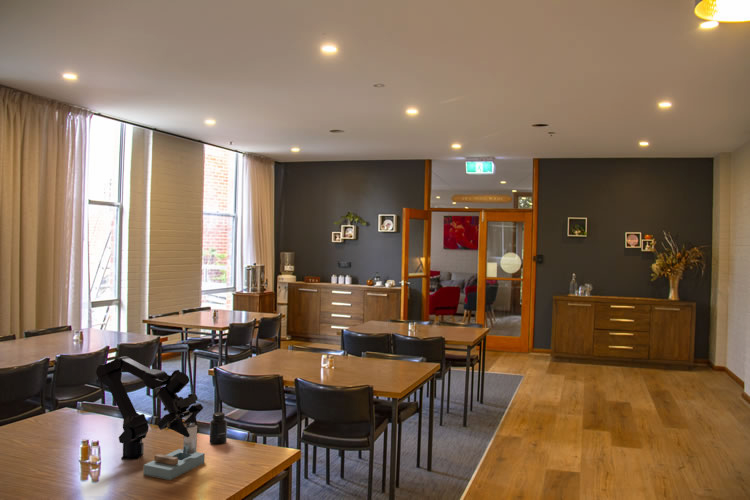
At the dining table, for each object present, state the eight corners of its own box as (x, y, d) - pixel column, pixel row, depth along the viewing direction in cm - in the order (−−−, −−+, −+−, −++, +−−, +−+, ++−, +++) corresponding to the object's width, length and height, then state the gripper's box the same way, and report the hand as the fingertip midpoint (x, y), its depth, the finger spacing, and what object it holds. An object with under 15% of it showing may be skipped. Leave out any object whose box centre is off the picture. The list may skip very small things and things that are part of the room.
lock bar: (154, 461, 203) (154, 455, 203) (158, 459, 205) (158, 453, 205) (174, 465, 200) (174, 459, 200) (178, 463, 202) (178, 457, 202)
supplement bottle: (221, 446, 231) (222, 416, 231) (206, 444, 233) (206, 415, 233) (229, 440, 238) (229, 412, 238) (214, 439, 239) (214, 411, 239)
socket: (143, 474, 201) (143, 464, 201) (179, 458, 217) (179, 448, 217) (170, 480, 196) (170, 470, 196) (204, 462, 213) (204, 453, 213)
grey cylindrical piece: (181, 454, 205) (182, 425, 205) (184, 449, 210) (185, 421, 210) (194, 454, 206) (195, 425, 206) (197, 449, 210) (198, 421, 210)
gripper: (165, 392, 201) (188, 428, 196) (200, 382, 218) (222, 415, 214) (147, 411, 204) (170, 447, 199) (183, 399, 221) (205, 432, 217)
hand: (193, 434), depth 207 cm, fingers closed on grey cylindrical piece, 5 cm apart
